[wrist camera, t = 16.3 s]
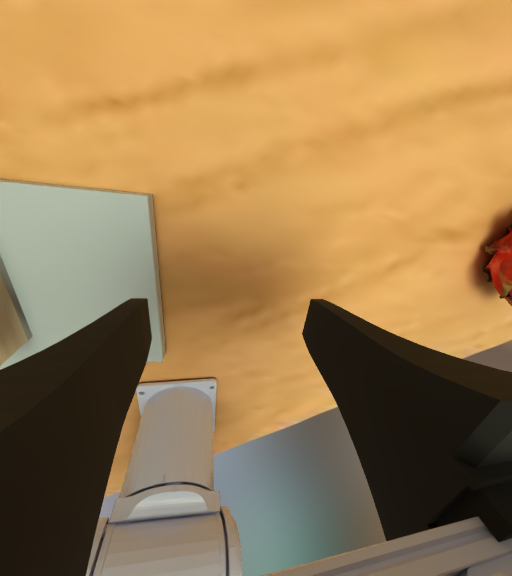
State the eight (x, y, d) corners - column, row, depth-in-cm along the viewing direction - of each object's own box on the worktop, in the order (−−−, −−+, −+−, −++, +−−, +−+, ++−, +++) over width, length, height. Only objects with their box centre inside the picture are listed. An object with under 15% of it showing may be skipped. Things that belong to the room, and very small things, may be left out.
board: (165, 350, 21) (162, 361, 20) (-111, 361, 17) (-137, 377, 16) (152, 194, 15) (147, 196, 14) (-281, 150, 11) (-348, 147, 10)
